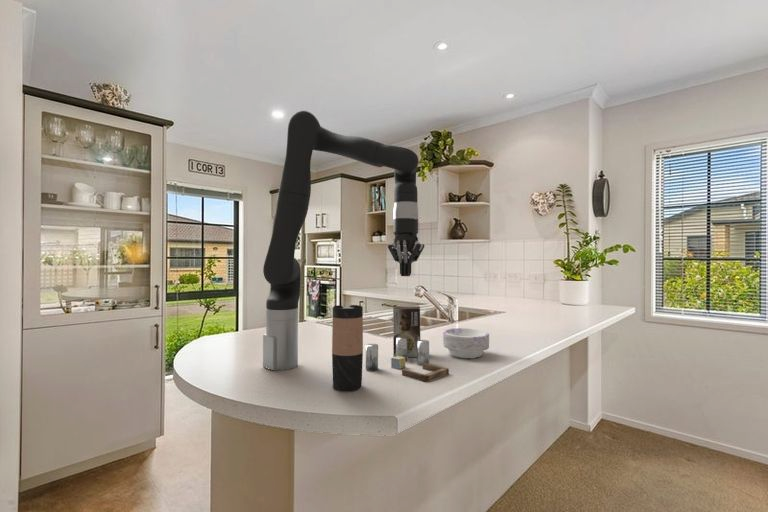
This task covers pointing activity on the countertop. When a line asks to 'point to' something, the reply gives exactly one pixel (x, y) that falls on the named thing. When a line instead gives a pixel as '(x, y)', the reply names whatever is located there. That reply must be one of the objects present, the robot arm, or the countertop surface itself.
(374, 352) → the spacer
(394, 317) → the coffee box
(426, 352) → the spacer
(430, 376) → the tray
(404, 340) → the block
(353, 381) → the travel mug
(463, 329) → the marble bowl
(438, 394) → the countertop surface
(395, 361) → the alphabet block
